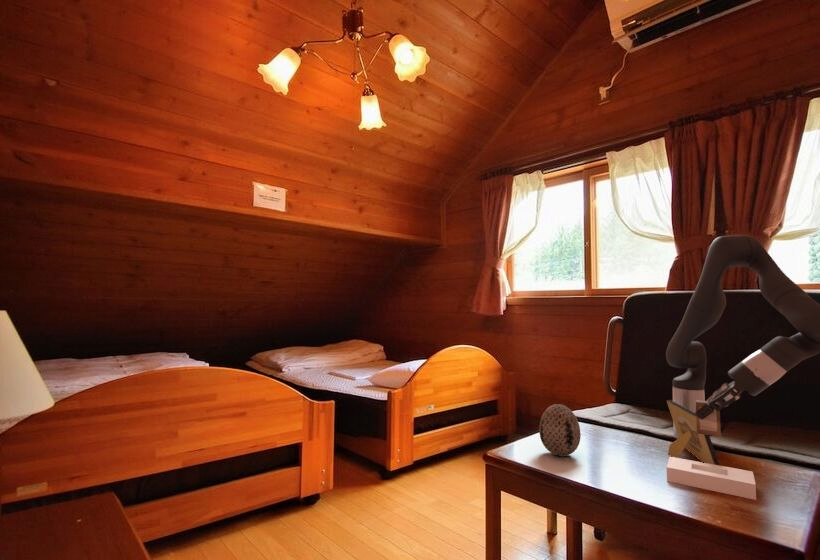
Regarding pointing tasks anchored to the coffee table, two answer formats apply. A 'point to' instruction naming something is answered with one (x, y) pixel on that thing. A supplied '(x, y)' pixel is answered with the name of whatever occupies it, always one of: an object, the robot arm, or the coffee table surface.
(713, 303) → the robot arm
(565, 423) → the decorative egg
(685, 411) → the picture frame
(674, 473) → the notch stand
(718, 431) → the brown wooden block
